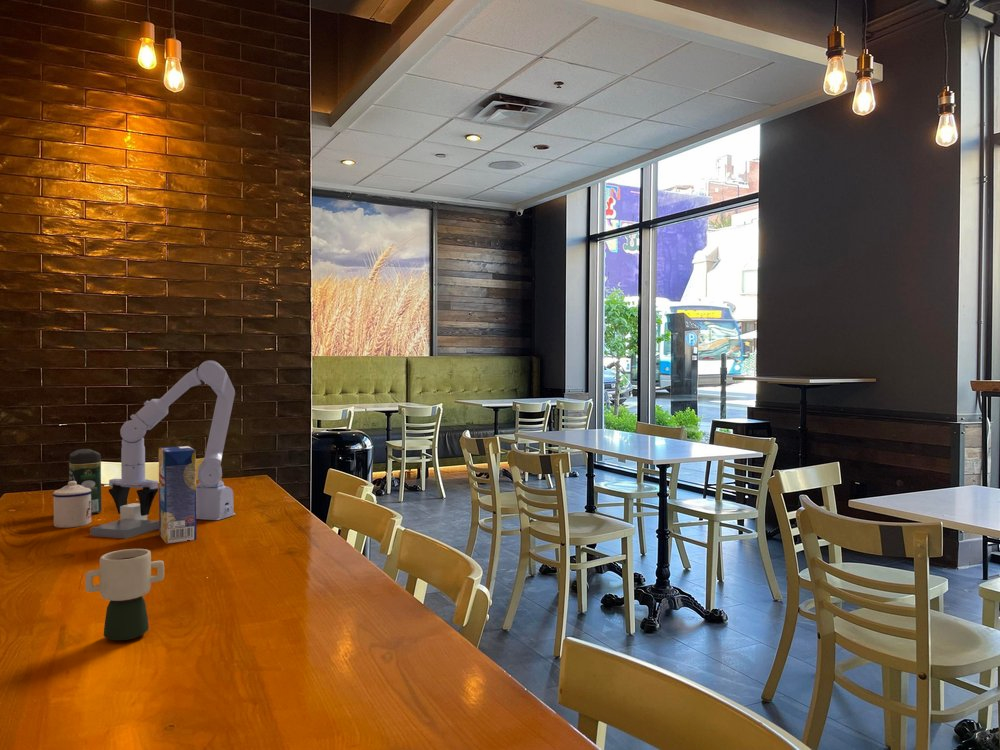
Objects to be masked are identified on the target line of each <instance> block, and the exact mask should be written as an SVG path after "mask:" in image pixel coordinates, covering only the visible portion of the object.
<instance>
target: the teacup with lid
mask: <svg viewBox="0 0 1000 750" xmlns="http://www.w3.org/2000/svg"><path fill="white" fill-rule="evenodd" d="M76 484H77V482H76V481H69V480H68V482H67V485H65V486H63V487H61V488H59V489H57V490H54V491H53V493H52V497H53V526H54V528H58V529H59V528H61V529H67V528H69V529H70V528H77V527H83V526H87V525H89V524H90V523H92V515H91V493H92V491H91V489H90V488H85V487H83V486H81V485H76Z"/></svg>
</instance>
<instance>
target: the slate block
mask: <svg viewBox="0 0 1000 750" xmlns="http://www.w3.org/2000/svg"><path fill="white" fill-rule="evenodd" d="M156 530H159V520H152V519H151V520H150V519H147V520H138V519H122V520H120V519H119V520H118V519H117V520H115V521H111V522H107V523H103V524H100V525H95V526H91V527H90V536H91V537H103V538H114V539H129V538H132V537H135V536H139V535H144V534H146V533H150V532H152V531H156Z"/></svg>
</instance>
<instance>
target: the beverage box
mask: <svg viewBox="0 0 1000 750" xmlns="http://www.w3.org/2000/svg"><path fill="white" fill-rule="evenodd" d="M196 452H197V450H196V449H194V448H193V447H191V446H189V445H184V446H183V445H182V446H167V447H158V511H159V512H158V513H159V514H158V515H159V517H158V518H159V520H158V521H159V529H158V530H159V531H158V533H159V537H160V538H161V539H162V540H163V541H164V543H165V544H173V543H181V542H188V541H187V540H190V541H195V540H194V539H197V519H196V515H197V511H196V484H197V457H196V456H197V455H196V454H197V453H196Z"/></svg>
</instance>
